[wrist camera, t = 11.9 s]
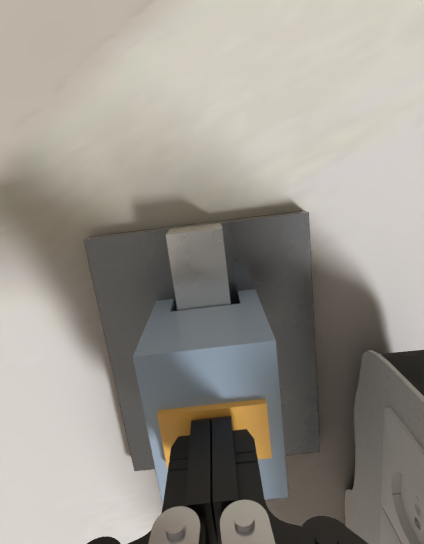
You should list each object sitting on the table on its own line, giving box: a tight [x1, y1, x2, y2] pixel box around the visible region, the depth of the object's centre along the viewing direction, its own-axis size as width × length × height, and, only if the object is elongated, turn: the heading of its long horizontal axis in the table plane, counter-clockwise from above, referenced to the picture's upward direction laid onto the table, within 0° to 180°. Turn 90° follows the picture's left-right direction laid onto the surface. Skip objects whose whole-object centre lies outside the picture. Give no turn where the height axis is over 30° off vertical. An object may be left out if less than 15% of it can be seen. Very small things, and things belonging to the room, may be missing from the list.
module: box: [133, 289, 288, 504], centre depth 16 cm, size 7×5×6 cm
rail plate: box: [84, 211, 320, 471], centre depth 19 cm, size 14×11×2 cm
